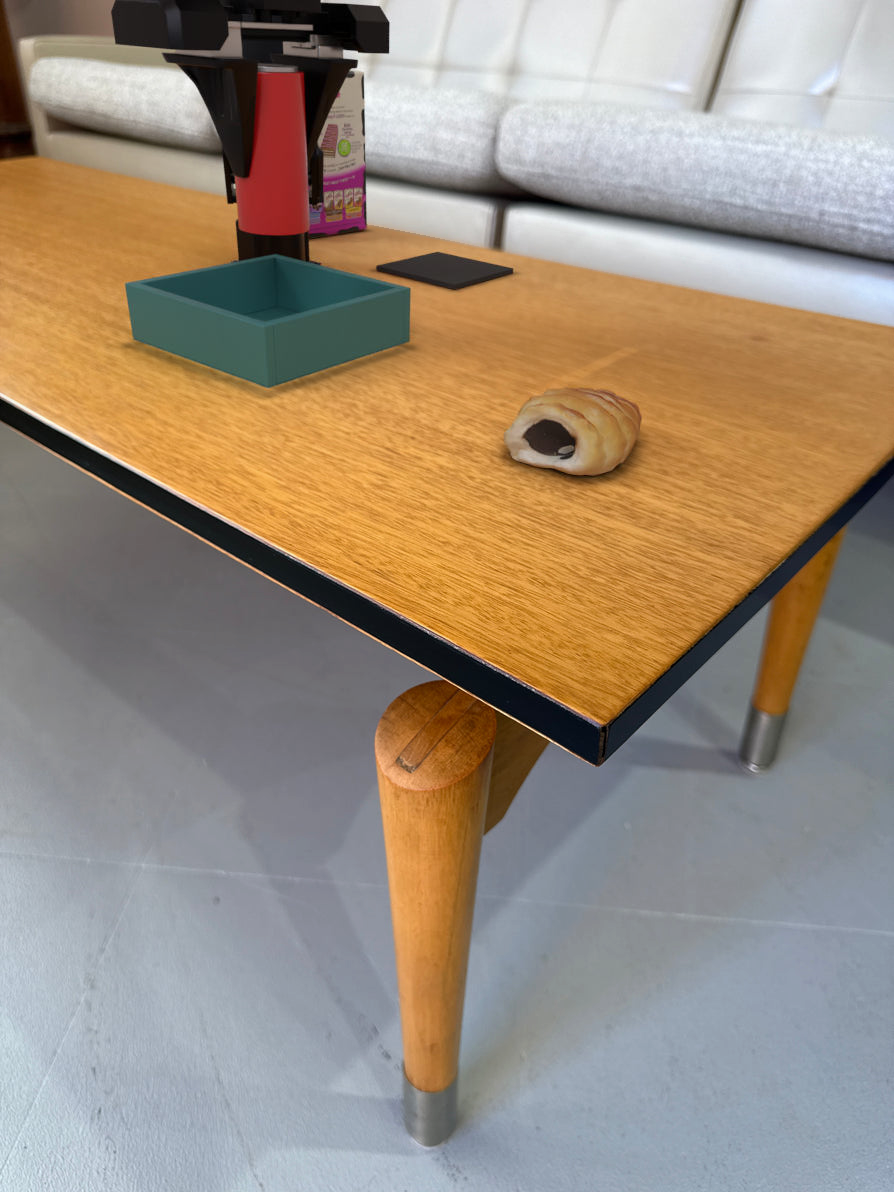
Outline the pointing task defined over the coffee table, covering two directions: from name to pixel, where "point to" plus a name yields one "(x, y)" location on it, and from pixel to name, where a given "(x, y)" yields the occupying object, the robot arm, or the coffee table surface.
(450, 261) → the mat
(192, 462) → the coffee table surface
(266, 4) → the robot arm
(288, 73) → the can
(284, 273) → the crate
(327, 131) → the candy bar box
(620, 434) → the pastry
